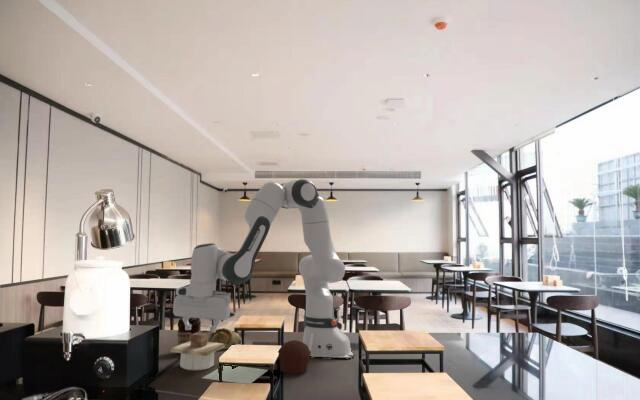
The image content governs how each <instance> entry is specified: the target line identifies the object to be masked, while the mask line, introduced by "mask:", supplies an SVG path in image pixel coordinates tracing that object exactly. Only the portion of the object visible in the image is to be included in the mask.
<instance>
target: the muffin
mask: <svg viewBox="0 0 640 400" xmlns="http://www.w3.org/2000/svg"><path fill="white" fill-rule="evenodd" d="M278 350H279V351H277V353H279V354H278V361H279V372H282V373H284V374H288V375H301V374H305V373H307V369H308V364H309V358H310V357H309V356H310V354H311V351H310V350H309V348H308V346H307V345H306V344H304V343H303V341H301V340H295V339H294V340H288V341H287V342H284V343H283V344H282V345H281V346H280V347H279V349H278Z"/></svg>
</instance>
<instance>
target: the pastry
mask: <svg viewBox="0 0 640 400" xmlns="http://www.w3.org/2000/svg"><path fill="white" fill-rule="evenodd" d="M207 342H213V343H223V344H225V346H224V348H222V349H220V350H222V351H225V350H226V351H227V349H228V348H229V347H230V346H231V345H235V344H242V343H243V340H242V338H241V337H240V335H239V333H237V332H235V331H233V330H231V329H229V328H224V327H223V328H218V329H217V328H216V332H215V333H212V332H210V333H209V335H208V339H207ZM242 345H243V344H242ZM220 350H219V351H220Z"/></svg>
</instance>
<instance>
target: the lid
mask: <svg viewBox="0 0 640 400" xmlns="http://www.w3.org/2000/svg"><path fill="white" fill-rule="evenodd" d="M208 337H209V334H208V333H207V332H197V333H194V334H191V341H188V342H186V343H183V344H181V345H178V344H177V345H176V346H173V347H171V348H170V353H176V354H177V353H178V354H179V353H183V354H192V355H201V356H208V355H210V354H212V353H214V352H215V353H216V352H218V351H220V349H221V350H222V348H224V346H225V344H223V343H213V342H208Z"/></svg>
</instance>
